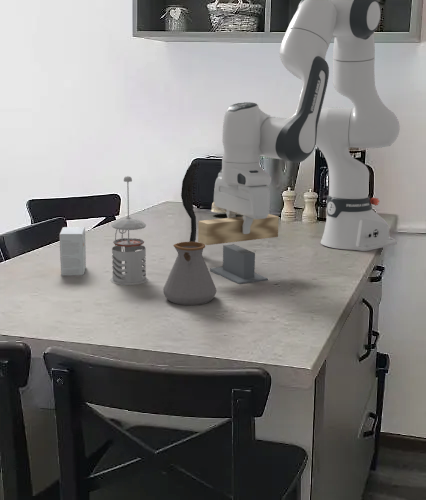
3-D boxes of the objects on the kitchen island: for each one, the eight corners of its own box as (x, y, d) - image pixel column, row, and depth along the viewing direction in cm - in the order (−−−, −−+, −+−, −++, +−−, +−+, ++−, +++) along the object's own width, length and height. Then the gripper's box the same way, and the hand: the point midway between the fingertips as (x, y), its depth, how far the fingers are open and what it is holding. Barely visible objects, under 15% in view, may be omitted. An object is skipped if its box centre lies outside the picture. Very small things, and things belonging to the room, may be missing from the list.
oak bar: (268, 233, 186) (269, 213, 185) (278, 236, 183) (278, 216, 181) (198, 241, 176) (198, 220, 175) (206, 245, 173) (207, 223, 172)
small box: (63, 267, 188) (62, 226, 186) (86, 267, 189) (85, 226, 186) (60, 276, 181) (58, 233, 178) (83, 276, 181) (82, 233, 179)
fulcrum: (237, 268, 190) (238, 241, 188) (267, 282, 178) (268, 253, 176) (210, 272, 186) (210, 244, 184) (238, 286, 174) (239, 257, 172)
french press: (116, 289, 171) (114, 180, 165) (100, 276, 181) (97, 173, 175) (156, 284, 175) (156, 177, 169) (138, 272, 185) (136, 171, 179)
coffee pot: (165, 294, 168) (165, 228, 164) (217, 295, 167) (217, 229, 164) (155, 326, 147) (155, 252, 143) (214, 328, 147) (215, 253, 143)
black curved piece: (194, 258, 199) (194, 164, 193) (180, 257, 200) (180, 163, 194) (202, 251, 207) (203, 160, 201) (189, 250, 207) (189, 160, 201)
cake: (243, 211, 266) (244, 196, 265) (229, 215, 258) (229, 200, 256) (219, 208, 271) (220, 193, 270) (205, 212, 263) (205, 197, 261)
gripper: (207, 168, 183) (207, 224, 186) (251, 179, 166) (250, 240, 169) (230, 167, 186) (229, 222, 189) (275, 178, 169) (273, 238, 172)
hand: (239, 231), depth 179 cm, fingers closed on oak bar, 4 cm apart
